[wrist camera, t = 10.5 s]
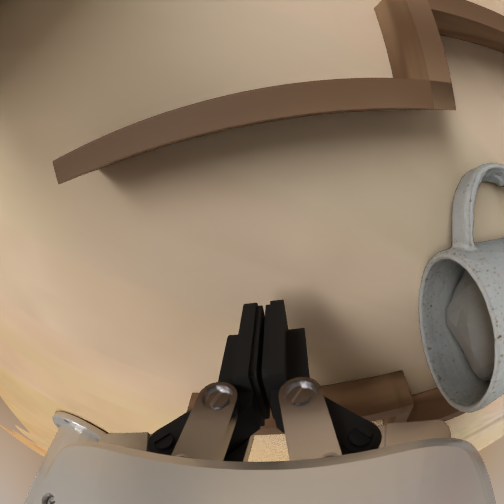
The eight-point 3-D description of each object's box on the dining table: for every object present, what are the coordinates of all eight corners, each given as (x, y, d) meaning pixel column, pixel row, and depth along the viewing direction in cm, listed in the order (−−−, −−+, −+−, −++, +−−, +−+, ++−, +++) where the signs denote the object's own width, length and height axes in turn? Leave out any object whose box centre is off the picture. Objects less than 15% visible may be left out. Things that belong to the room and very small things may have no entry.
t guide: (510, 361, 16) (523, 382, 13) (212, 425, 20) (206, 454, 17) (551, 62, 5) (579, 64, 2) (79, 79, 9) (38, 76, 7)
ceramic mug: (502, 307, 13) (556, 377, 6) (412, 341, 15) (454, 442, 8) (519, 155, 9) (615, 194, 2) (413, 166, 11) (539, 224, 4)
